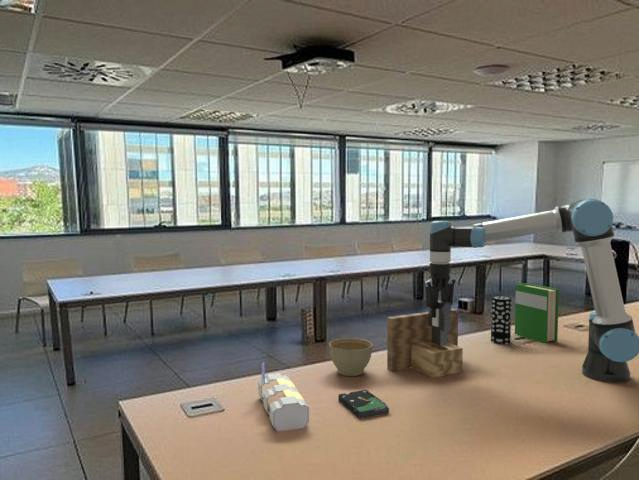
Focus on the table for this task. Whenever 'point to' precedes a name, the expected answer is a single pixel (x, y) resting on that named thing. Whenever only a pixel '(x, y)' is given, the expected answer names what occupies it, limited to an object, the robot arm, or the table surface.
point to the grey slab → (441, 323)
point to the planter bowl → (350, 355)
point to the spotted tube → (501, 320)
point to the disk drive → (363, 404)
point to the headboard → (422, 346)
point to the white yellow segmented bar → (284, 403)
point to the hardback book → (536, 312)
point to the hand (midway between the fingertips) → (439, 325)
